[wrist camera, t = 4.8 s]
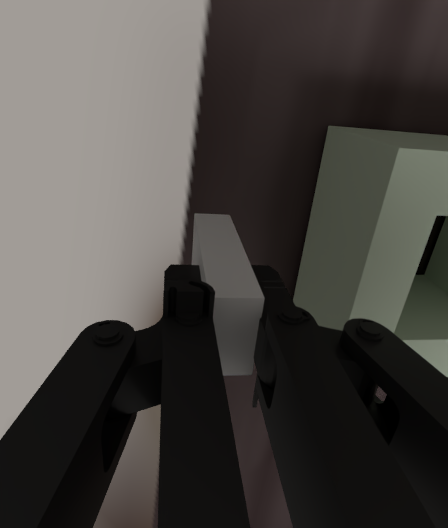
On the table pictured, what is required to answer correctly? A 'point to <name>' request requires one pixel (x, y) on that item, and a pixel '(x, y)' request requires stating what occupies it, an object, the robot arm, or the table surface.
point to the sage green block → (379, 237)
